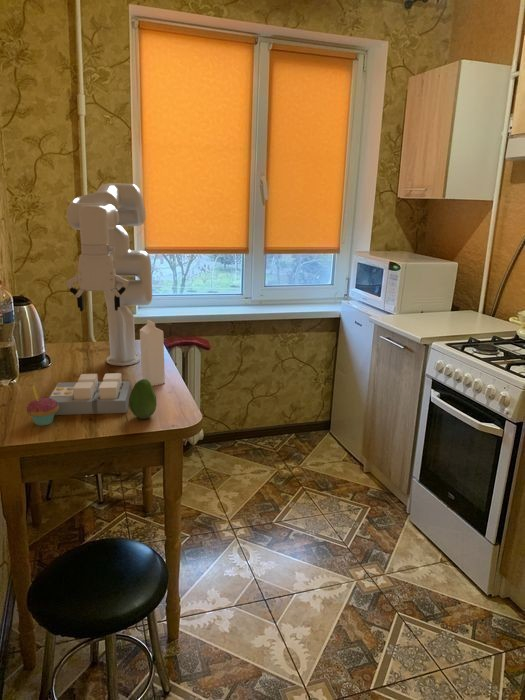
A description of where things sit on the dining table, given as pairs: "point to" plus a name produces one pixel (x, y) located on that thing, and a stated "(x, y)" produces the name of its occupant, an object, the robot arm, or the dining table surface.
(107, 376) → the button
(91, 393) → the button
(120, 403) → the board
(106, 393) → the button
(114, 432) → the dining table surface
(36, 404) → the cupcake
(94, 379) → the button
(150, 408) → the avocado
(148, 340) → the milk
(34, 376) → the dining table surface
